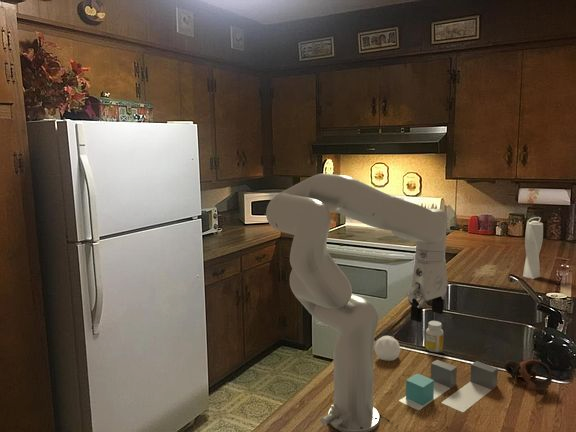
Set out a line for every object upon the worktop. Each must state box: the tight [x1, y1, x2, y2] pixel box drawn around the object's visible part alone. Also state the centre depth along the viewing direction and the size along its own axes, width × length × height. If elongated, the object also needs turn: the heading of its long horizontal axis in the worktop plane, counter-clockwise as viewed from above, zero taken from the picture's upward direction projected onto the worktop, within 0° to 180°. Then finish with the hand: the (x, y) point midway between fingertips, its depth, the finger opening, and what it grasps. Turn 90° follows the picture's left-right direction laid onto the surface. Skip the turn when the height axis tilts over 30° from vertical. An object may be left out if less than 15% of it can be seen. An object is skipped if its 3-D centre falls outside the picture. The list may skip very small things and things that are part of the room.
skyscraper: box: [522, 216, 544, 280], centre depth 223 cm, size 8×8×28 cm
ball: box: [373, 335, 401, 362], centre depth 147 cm, size 8×8×8 cm
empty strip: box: [441, 360, 499, 413], centre depth 126 cm, size 18×6×6 cm, turn 132°
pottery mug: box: [503, 358, 553, 391], centre depth 132 cm, size 12×10×8 cm
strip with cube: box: [398, 359, 458, 411], centre depth 127 cm, size 18×6×6 cm, turn 132°
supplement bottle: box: [424, 320, 444, 353], centre depth 152 cm, size 5×5×10 cm
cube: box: [405, 373, 434, 406], centre depth 124 cm, size 5×5×5 cm
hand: (426, 316), depth 130 cm, fingers open, 9 cm apart
